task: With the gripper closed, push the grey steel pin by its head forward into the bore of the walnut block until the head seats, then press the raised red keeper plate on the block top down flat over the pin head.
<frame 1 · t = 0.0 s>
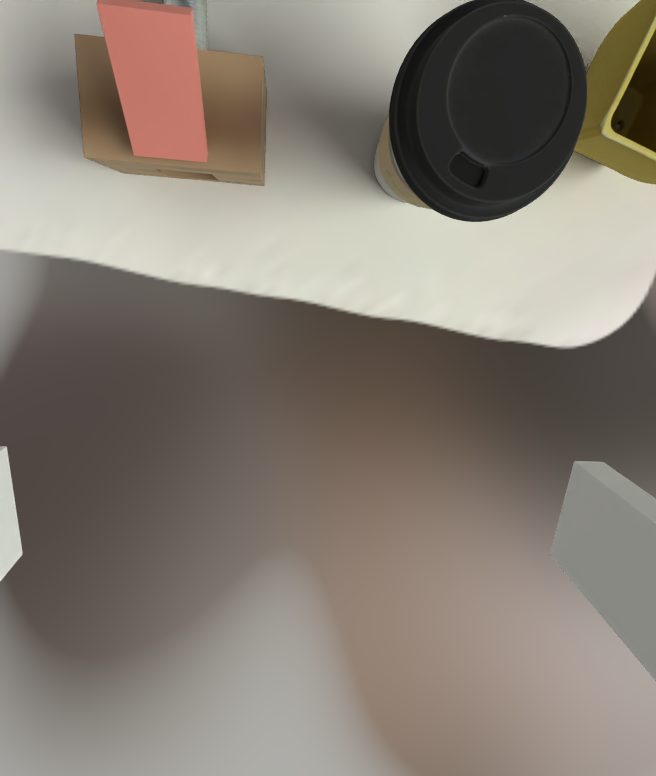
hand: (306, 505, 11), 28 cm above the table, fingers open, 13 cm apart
flower pot: (597, 121, 35), on the table
pin: (186, 42, 29), point 3 cm above the table, slide at 0.0 cm
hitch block: (194, 133, 33), on the table
keeper: (160, 89, 24), point 10 cm above the table, hinge at 40.0°
coffee cup: (412, 160, 35), on the table
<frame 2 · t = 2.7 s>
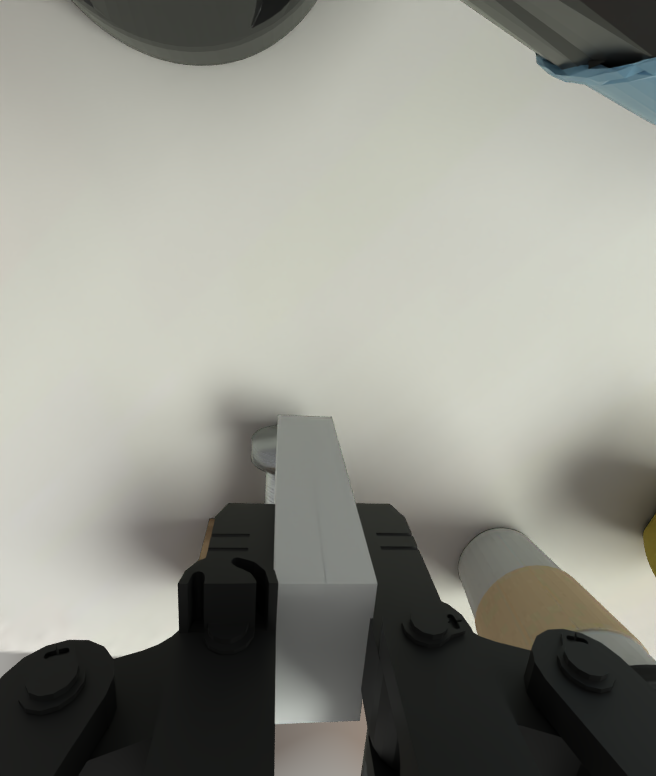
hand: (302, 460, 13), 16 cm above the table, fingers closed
pin: (285, 521, 29), point 3 cm above the table, slide at 0.0 cm
coffee cup: (495, 557, 35), on the table
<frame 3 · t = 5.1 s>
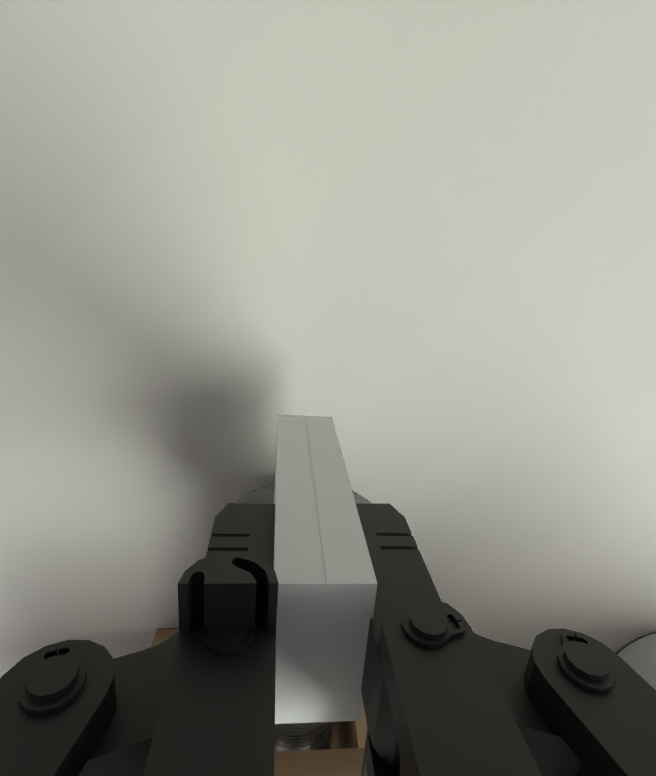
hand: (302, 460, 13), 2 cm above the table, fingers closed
pin: (297, 671, 15), point 3 cm above the table, slide at 0.7 cm, touching gripper
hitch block: (290, 685, 18), on the table
coffee cup: (653, 675, 20), on the table
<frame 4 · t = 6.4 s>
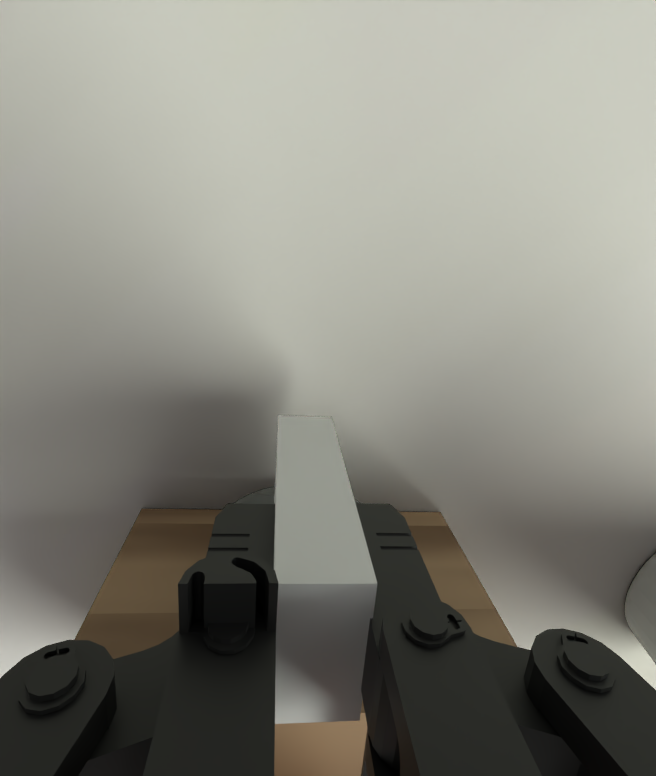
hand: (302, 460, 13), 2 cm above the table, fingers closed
pin: (291, 680, 14), point 3 cm above the table, slide at 6.0 cm, touching gripper
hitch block: (292, 583, 16), on the table
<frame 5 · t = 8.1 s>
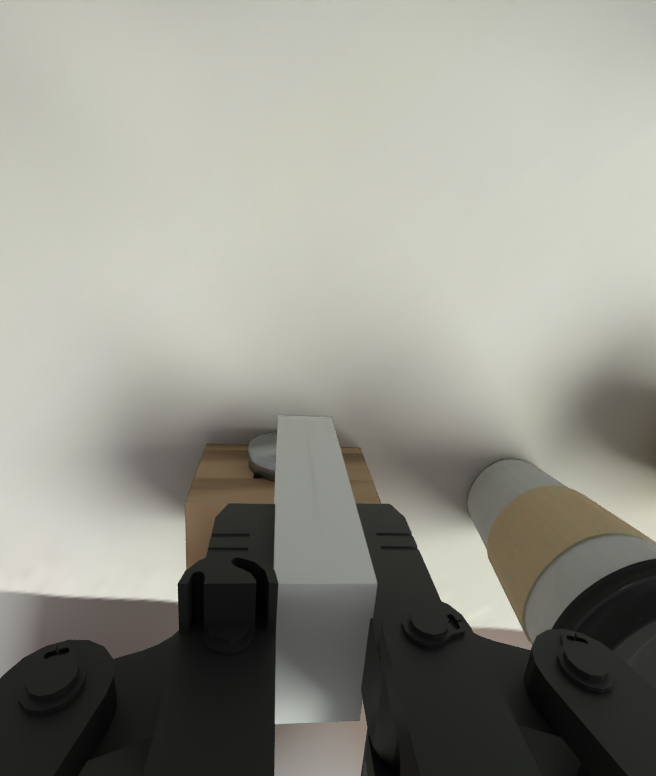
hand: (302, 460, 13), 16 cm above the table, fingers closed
pin: (281, 527, 29), point 3 cm above the table, slide at 6.0 cm, touching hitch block
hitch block: (282, 486, 31), on the table
coffee cup: (506, 492, 33), on the table
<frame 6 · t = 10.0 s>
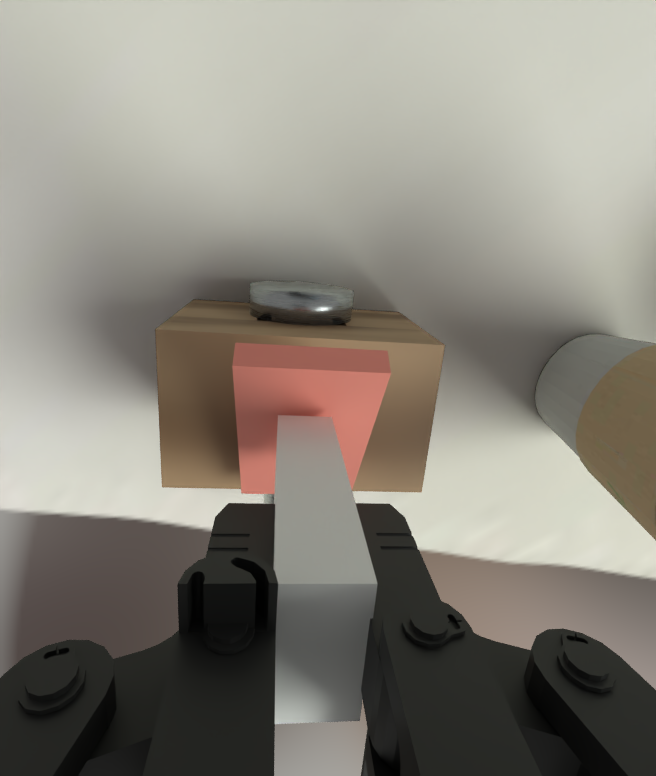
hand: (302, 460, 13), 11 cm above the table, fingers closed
pin: (295, 409, 21), point 3 cm above the table, slide at 6.0 cm, touching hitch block
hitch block: (295, 365, 23), on the table
keeper: (303, 432, 15), point 9 cm above the table, hinge at 32.3°, touching gripper
coffee cup: (585, 383, 26), on the table
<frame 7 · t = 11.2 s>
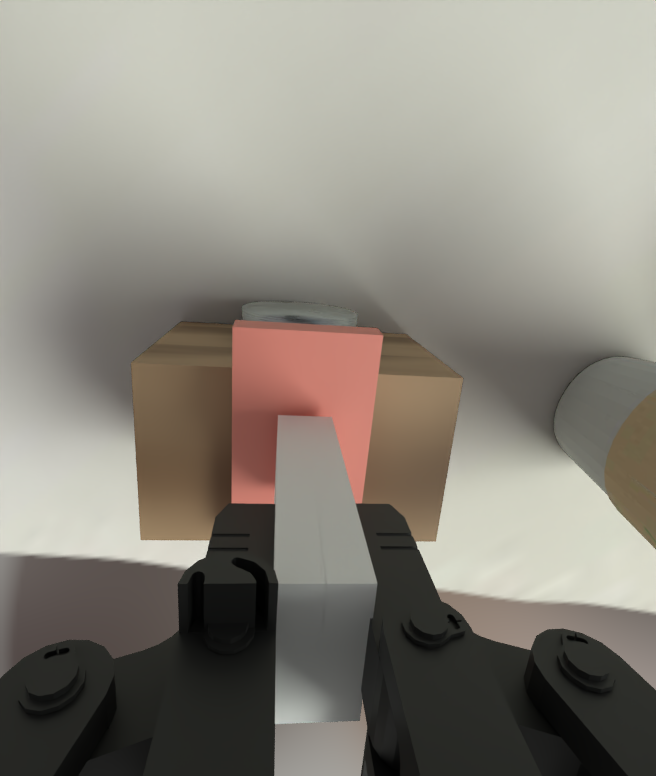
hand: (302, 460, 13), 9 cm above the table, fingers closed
pin: (292, 443, 19), point 3 cm above the table, slide at 6.0 cm, touching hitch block
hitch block: (293, 392, 21), on the table
keeper: (300, 441, 14), point 8 cm above the table, hinge at 3.8°
coffee cup: (607, 409, 24), on the table
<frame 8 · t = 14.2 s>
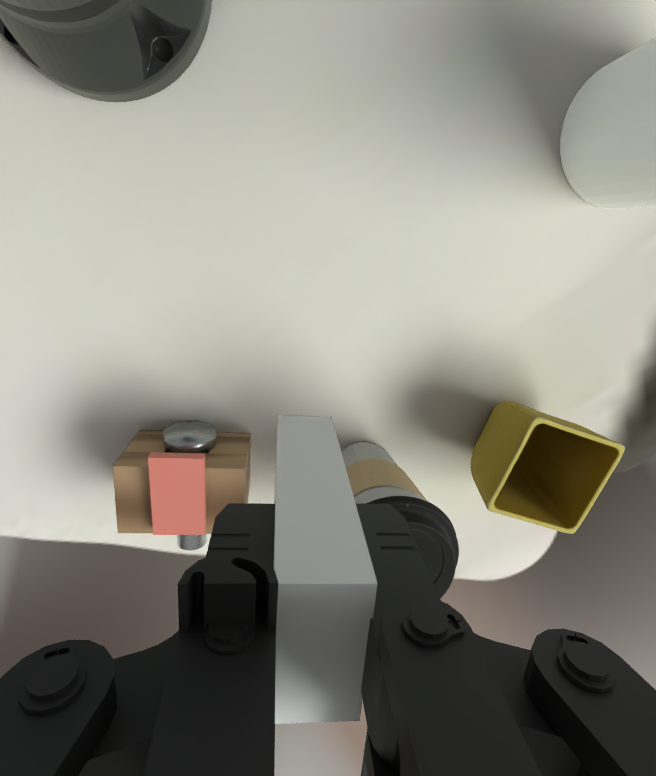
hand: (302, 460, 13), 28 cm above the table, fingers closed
flower pot: (504, 433, 46), on the table
pin: (191, 488, 42), point 3 cm above the table, slide at 6.0 cm, touching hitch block
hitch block: (196, 461, 44), on the table
keeper: (178, 494, 36), point 8 cm above the table, hinge at 3.7°
coffee cup: (362, 466, 46), on the table
bottle: (624, 136, 38), on the table
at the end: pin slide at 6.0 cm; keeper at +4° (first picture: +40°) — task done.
